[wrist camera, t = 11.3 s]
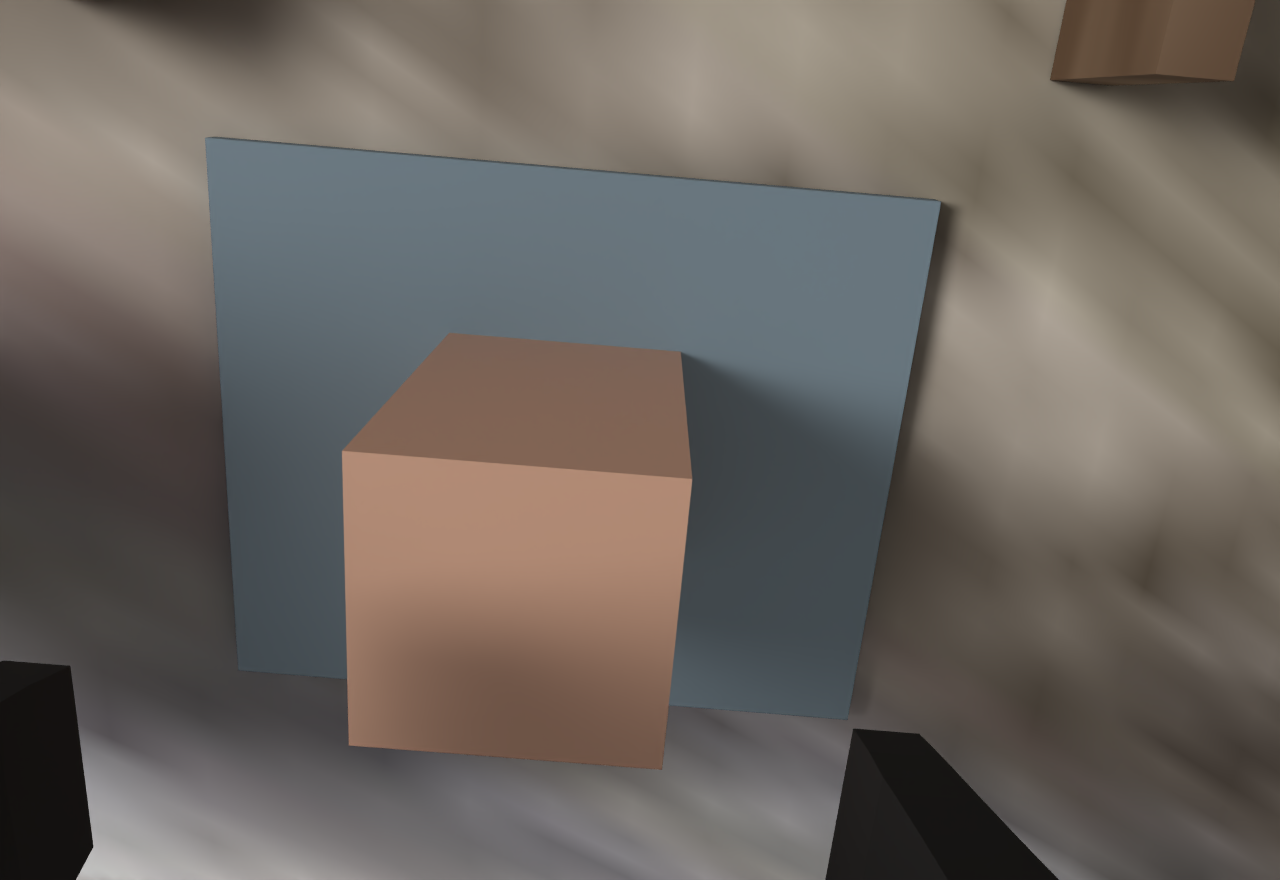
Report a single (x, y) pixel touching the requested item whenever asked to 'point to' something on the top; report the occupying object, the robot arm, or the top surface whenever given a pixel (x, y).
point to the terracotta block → (519, 553)
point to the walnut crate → (1151, 41)
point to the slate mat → (588, 314)
